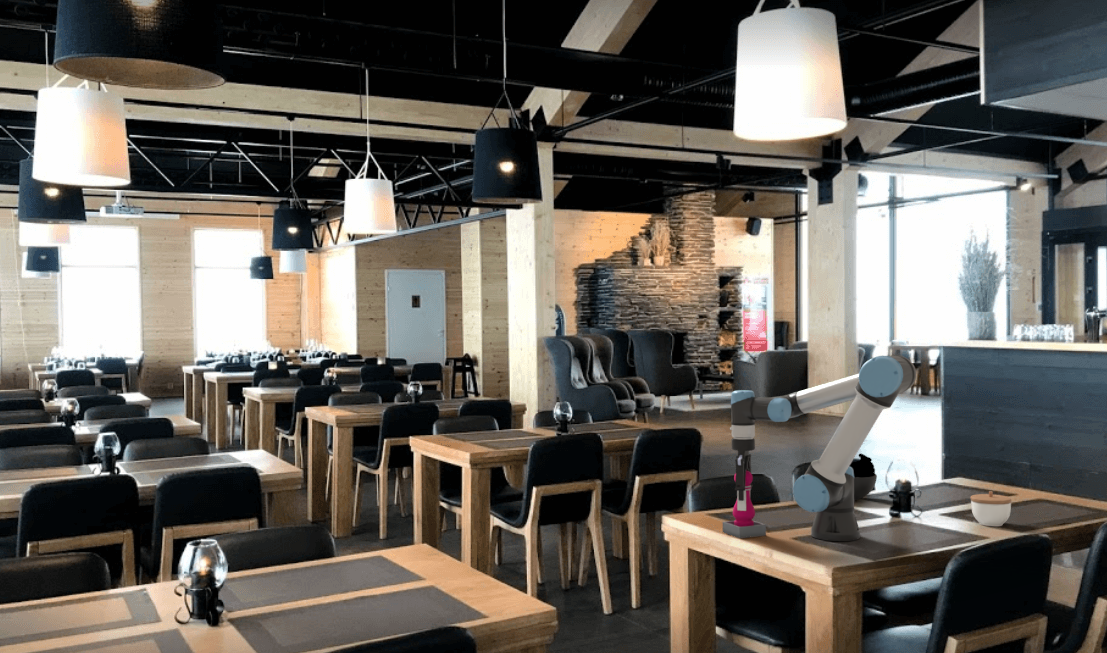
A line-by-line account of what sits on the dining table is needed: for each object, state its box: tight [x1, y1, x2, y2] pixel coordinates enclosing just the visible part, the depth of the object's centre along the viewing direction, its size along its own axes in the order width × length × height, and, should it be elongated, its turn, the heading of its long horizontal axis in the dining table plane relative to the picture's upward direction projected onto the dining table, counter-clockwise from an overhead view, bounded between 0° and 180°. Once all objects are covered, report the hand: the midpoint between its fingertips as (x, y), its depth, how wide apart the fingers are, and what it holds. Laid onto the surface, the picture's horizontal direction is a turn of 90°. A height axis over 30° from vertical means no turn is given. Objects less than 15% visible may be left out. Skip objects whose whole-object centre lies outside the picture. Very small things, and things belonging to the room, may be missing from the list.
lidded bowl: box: [970, 491, 1012, 527], centre depth 337 cm, size 13×13×11 cm
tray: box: [722, 519, 767, 539], centre depth 326 cm, size 10×10×4 cm
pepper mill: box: [732, 470, 756, 527], centre depth 326 cm, size 7×7×20 cm
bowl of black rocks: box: [849, 453, 878, 501], centre depth 385 cm, size 20×20×19 cm
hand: (743, 508), depth 326 cm, fingers closed on pepper mill, 6 cm apart
